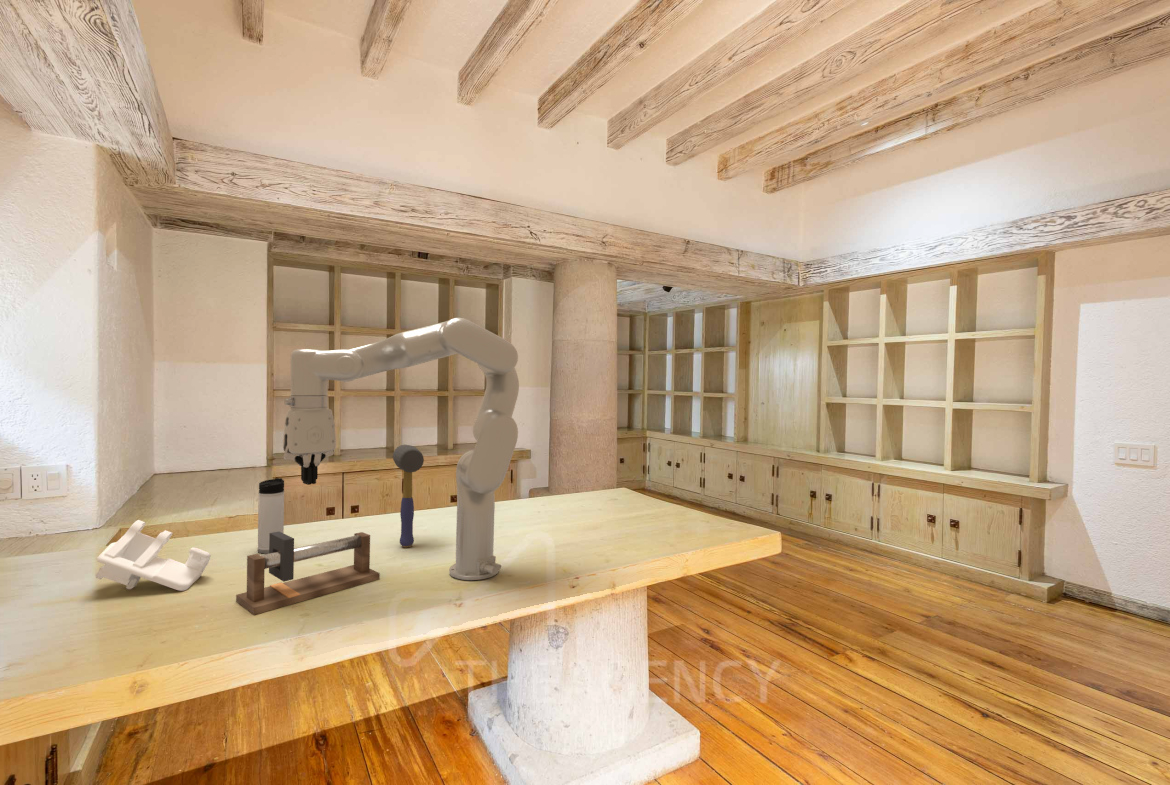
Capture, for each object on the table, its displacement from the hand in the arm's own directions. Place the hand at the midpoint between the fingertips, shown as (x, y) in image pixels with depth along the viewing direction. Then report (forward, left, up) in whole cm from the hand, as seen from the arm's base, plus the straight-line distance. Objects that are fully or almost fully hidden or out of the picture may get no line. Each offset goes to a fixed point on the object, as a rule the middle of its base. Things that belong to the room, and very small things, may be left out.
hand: (309, 483), depth 123 cm
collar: (+1, +5, -20) cm, 21 cm away
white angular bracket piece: (+29, +22, -25) cm, 44 cm away
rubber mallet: (+14, -34, -25) cm, 45 cm away
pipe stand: (+1, -1, -25) cm, 25 cm away
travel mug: (+38, -6, -25) cm, 46 cm away
